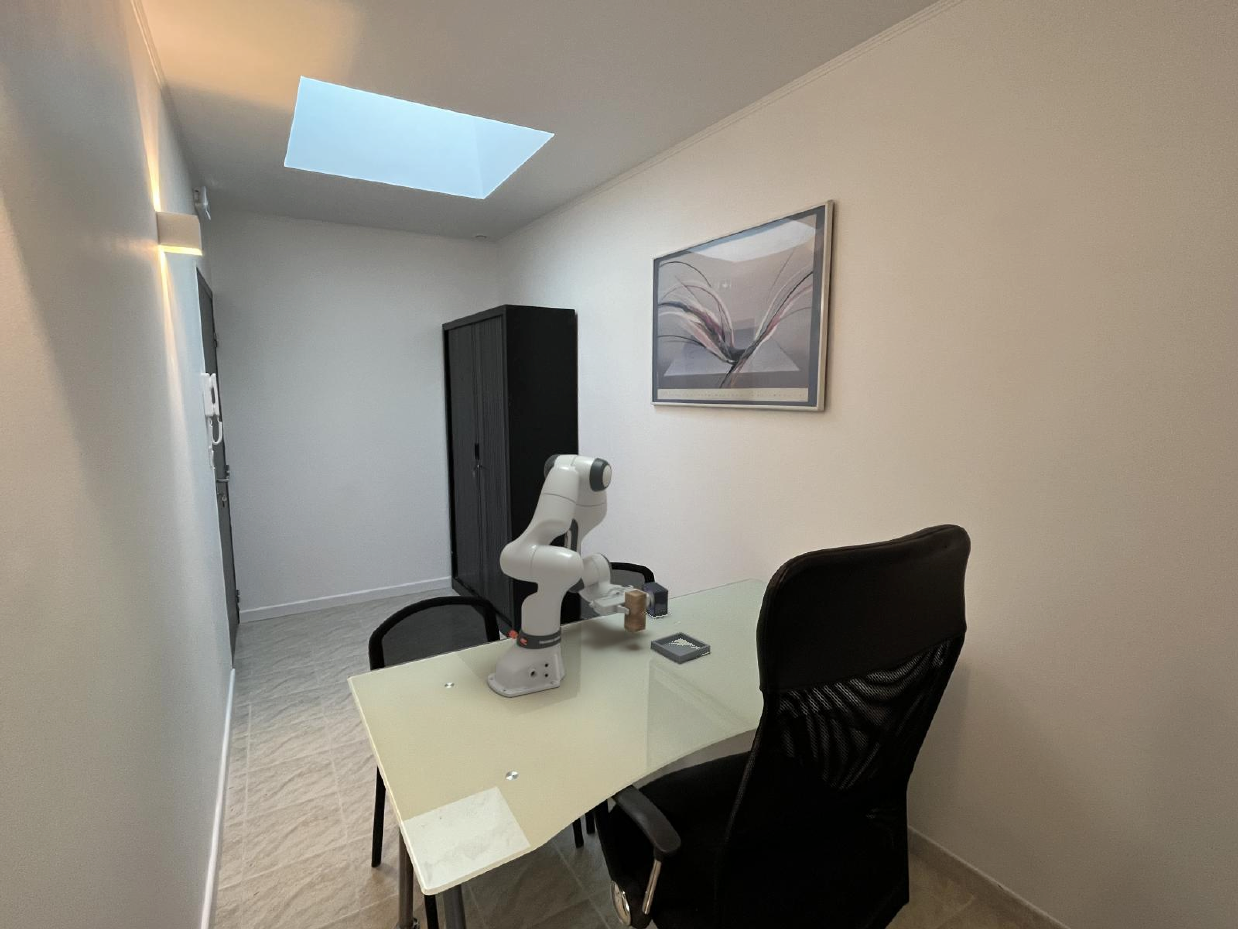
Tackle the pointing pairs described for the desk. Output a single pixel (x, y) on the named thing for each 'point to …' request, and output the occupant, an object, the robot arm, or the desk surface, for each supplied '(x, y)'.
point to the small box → (656, 599)
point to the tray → (679, 647)
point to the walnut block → (635, 611)
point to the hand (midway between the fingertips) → (637, 610)
